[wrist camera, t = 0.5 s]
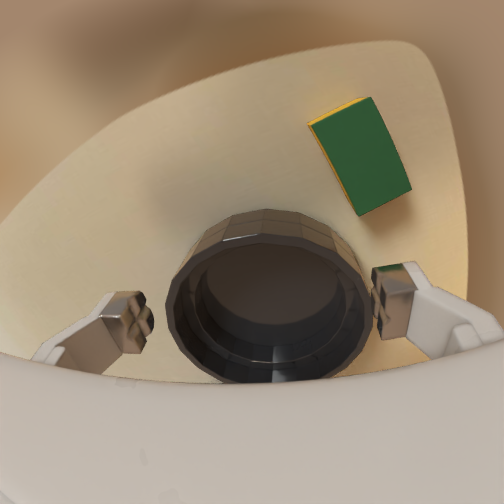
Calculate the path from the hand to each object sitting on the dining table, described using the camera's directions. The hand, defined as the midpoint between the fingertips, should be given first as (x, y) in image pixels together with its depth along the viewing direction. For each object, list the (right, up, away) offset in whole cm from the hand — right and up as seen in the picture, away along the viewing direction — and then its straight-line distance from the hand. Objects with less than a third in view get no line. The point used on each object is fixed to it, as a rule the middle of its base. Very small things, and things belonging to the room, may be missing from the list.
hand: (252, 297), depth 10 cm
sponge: (+8, +9, +11) cm, 16 cm away
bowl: (+2, -2, +17) cm, 17 cm away
